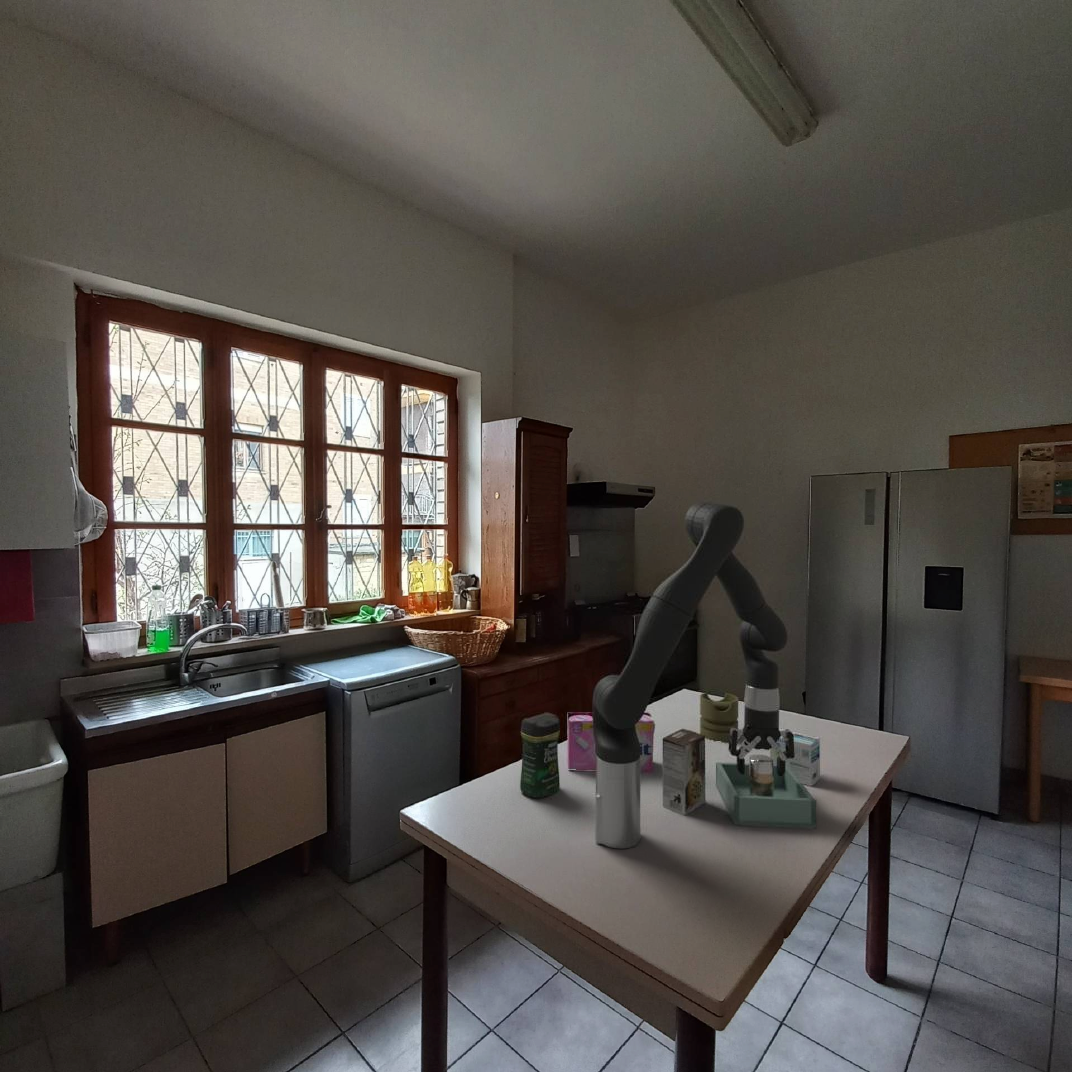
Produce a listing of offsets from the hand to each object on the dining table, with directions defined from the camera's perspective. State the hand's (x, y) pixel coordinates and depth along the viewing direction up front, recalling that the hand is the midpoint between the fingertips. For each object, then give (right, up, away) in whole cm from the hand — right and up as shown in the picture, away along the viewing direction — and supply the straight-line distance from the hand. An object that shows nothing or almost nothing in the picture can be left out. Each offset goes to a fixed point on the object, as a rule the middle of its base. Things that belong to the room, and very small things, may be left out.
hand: (760, 774), depth 135 cm
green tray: (0, -7, 0) cm, 7 cm away
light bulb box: (+15, -7, +16) cm, 23 cm away
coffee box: (-18, -8, +1) cm, 19 cm away
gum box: (-32, -7, +23) cm, 40 cm away
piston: (+5, -7, +46) cm, 46 cm away
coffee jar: (-51, -8, +8) cm, 52 cm away
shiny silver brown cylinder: (0, -6, 0) cm, 6 cm away
